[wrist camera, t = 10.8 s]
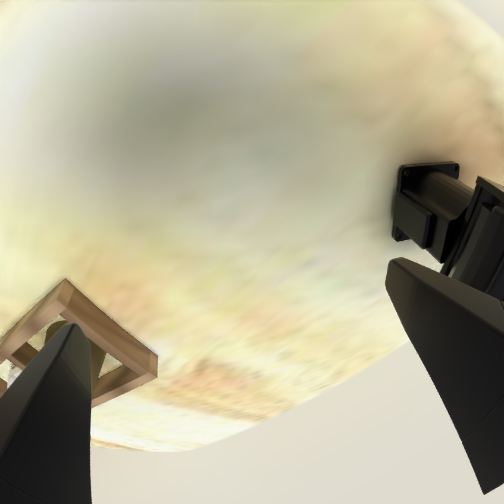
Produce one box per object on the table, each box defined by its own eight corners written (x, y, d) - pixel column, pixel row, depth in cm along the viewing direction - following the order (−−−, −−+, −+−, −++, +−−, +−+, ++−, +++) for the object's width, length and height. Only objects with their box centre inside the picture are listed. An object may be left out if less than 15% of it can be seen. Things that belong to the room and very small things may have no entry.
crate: (65, 278, 21) (56, 299, 19) (157, 356, 27) (157, 377, 25) (-23, 364, 24) (-30, 380, 22) (45, 412, 30) (42, 428, 28)
